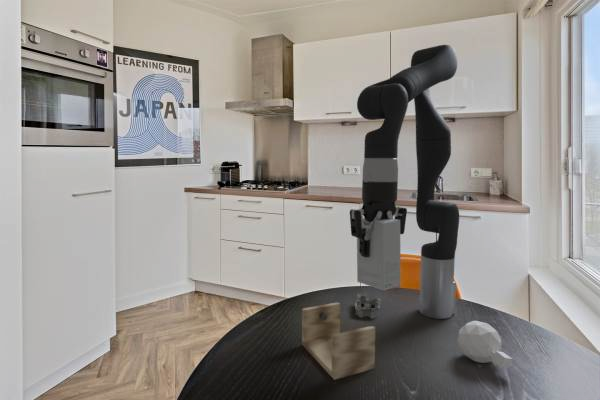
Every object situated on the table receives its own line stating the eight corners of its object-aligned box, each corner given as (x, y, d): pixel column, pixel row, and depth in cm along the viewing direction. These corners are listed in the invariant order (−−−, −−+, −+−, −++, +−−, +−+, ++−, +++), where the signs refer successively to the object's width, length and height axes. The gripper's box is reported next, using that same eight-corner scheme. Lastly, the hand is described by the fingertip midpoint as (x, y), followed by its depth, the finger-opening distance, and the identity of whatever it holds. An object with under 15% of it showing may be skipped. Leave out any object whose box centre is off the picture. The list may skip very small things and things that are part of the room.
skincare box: (400, 287, 81) (403, 219, 79) (381, 292, 77) (384, 222, 76) (373, 277, 87) (375, 215, 86) (354, 281, 84) (356, 217, 83)
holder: (337, 336, 95) (337, 302, 94) (374, 368, 80) (375, 328, 79) (302, 344, 90) (302, 308, 90) (334, 379, 76) (334, 337, 75)
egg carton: (358, 304, 117) (358, 292, 116) (381, 306, 115) (381, 294, 114) (352, 317, 107) (353, 304, 107) (378, 320, 105) (378, 306, 104)
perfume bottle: (443, 345, 86) (483, 379, 75) (458, 310, 85) (501, 339, 74) (469, 349, 90) (512, 383, 79) (484, 315, 89) (529, 344, 78)
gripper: (394, 178, 87) (392, 248, 88) (342, 179, 80) (340, 254, 82) (417, 180, 80) (414, 255, 81) (362, 180, 74) (360, 262, 75)
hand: (377, 254), depth 82 cm, fingers closed on skincare box, 6 cm apart
